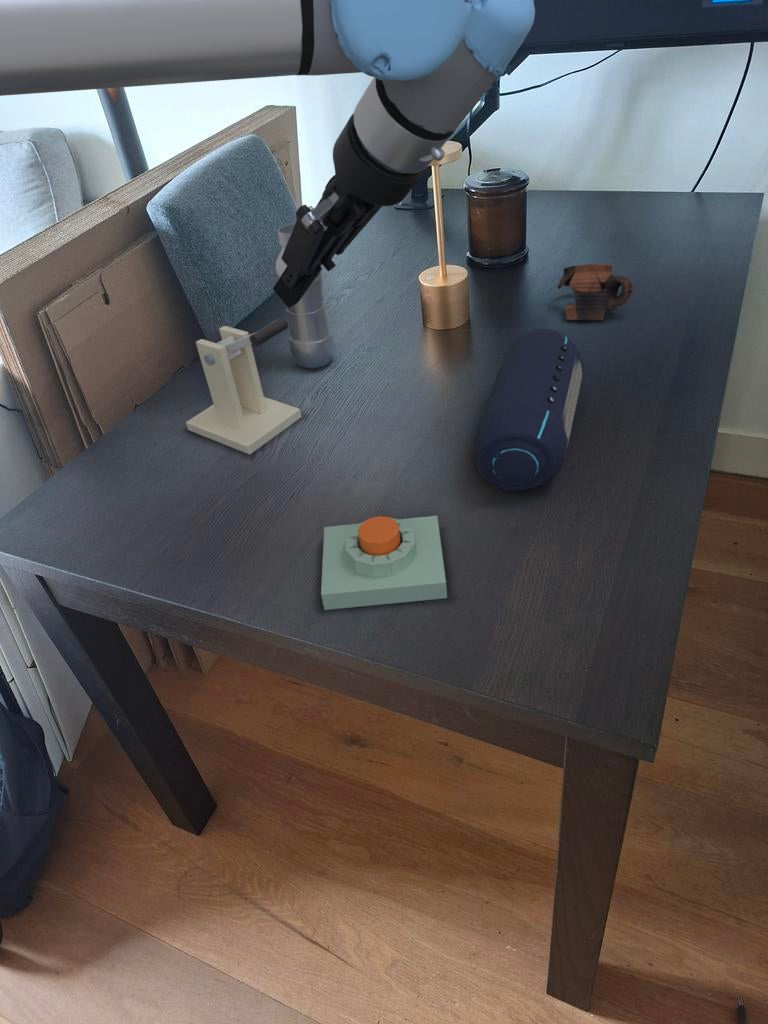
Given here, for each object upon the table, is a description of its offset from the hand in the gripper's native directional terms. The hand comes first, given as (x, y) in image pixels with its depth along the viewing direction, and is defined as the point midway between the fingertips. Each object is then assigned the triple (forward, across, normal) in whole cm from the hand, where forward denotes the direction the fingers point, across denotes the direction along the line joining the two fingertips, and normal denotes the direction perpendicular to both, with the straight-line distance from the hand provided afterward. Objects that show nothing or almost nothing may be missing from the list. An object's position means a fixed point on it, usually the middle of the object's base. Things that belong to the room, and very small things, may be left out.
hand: (285, 295), depth 83 cm
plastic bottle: (+25, +17, -4) cm, 31 cm away
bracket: (+24, 0, -5) cm, 24 cm away
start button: (-3, -13, -27) cm, 30 cm away
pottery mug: (+5, +50, -24) cm, 56 cm away
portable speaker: (-1, +14, -30) cm, 34 cm away
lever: (+12, 0, 0) cm, 12 cm away
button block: (0, -13, -29) cm, 32 cm away
